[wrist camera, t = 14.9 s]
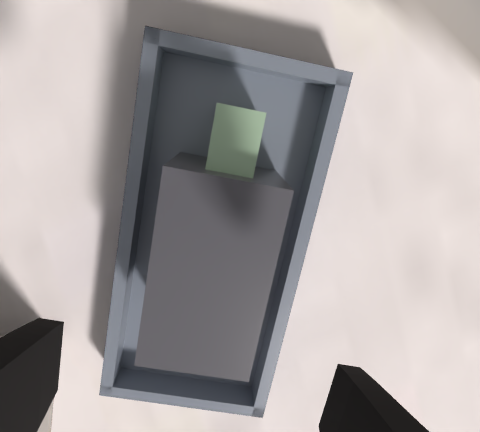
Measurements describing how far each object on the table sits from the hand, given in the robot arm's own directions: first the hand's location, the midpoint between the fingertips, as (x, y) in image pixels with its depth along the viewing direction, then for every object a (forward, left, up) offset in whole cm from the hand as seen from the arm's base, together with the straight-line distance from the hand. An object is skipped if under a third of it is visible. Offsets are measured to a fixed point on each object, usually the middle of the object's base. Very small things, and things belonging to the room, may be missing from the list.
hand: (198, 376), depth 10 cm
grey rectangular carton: (0, +2, -9) cm, 10 cm away
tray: (0, 0, -10) cm, 10 cm away
